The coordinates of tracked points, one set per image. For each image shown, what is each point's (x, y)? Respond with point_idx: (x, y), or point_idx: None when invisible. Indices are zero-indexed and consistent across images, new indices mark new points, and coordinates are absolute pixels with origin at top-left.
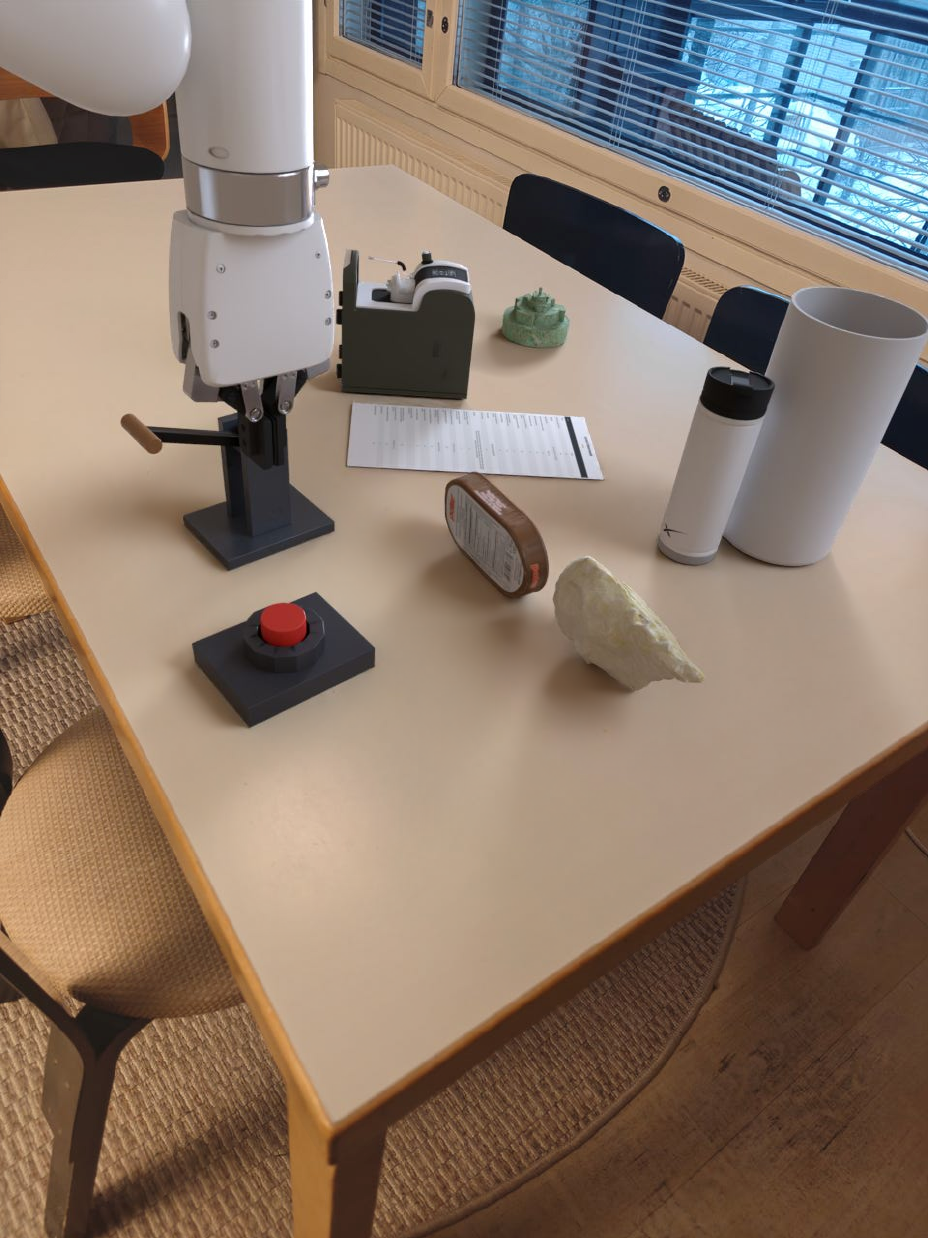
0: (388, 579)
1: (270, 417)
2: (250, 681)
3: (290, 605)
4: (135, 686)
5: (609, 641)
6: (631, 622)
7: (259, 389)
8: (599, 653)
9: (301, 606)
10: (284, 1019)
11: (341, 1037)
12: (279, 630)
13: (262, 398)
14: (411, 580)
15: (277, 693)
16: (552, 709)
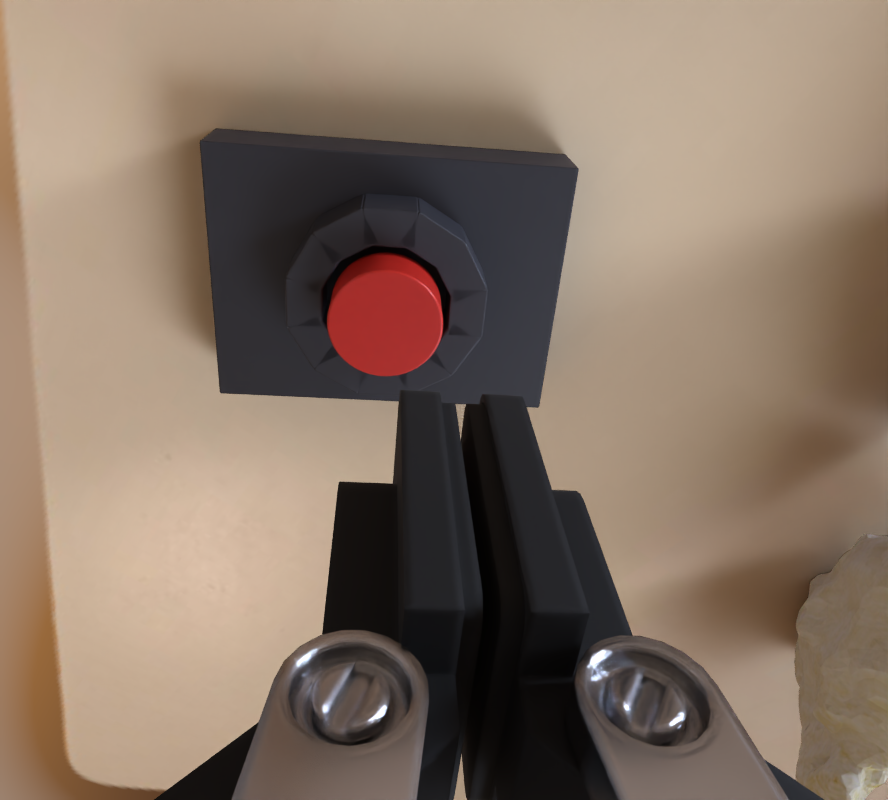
0: (788, 170)
1: (474, 784)
2: (262, 334)
3: (427, 301)
4: (57, 110)
5: (818, 708)
6: (861, 763)
7: (588, 722)
8: (809, 654)
9: (474, 264)
10: (67, 710)
11: (115, 746)
12: (349, 359)
13: (528, 767)
14: (822, 211)
15: (292, 393)
16: (674, 607)
